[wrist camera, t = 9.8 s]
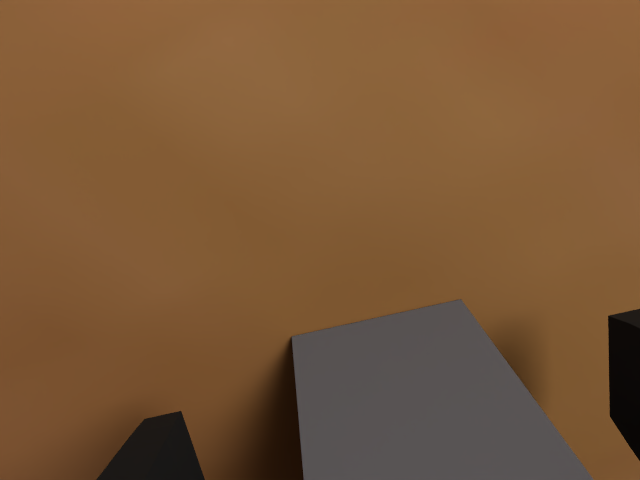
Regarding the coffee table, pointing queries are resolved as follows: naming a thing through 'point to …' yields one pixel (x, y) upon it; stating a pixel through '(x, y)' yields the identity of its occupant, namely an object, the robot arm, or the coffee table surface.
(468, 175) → the coffee table surface
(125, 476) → the robot arm
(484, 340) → the plug
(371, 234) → the coffee table surface
